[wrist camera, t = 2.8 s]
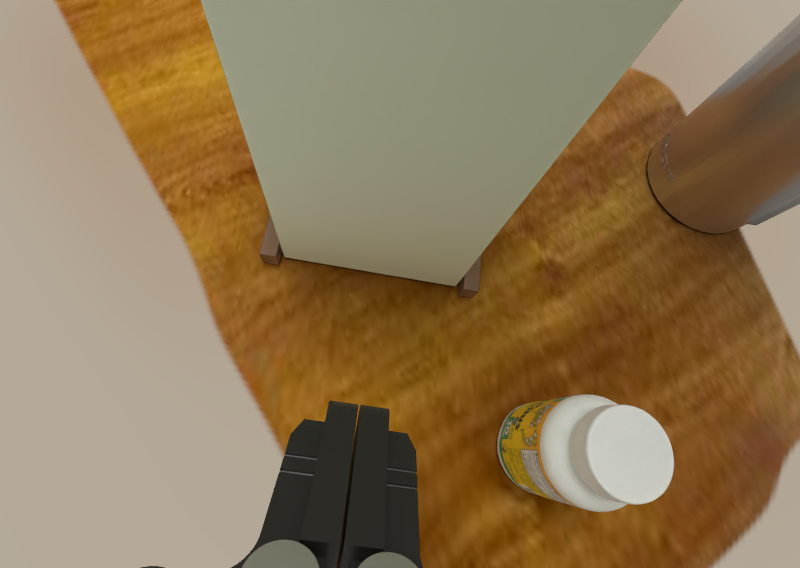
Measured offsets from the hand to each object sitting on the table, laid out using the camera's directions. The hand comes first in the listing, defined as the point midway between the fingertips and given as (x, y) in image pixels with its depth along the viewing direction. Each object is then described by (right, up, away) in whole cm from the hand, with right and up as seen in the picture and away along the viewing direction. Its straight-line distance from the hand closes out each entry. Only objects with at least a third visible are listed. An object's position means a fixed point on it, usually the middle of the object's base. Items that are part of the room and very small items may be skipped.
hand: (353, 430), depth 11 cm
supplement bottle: (+10, -7, +17) cm, 20 cm away
